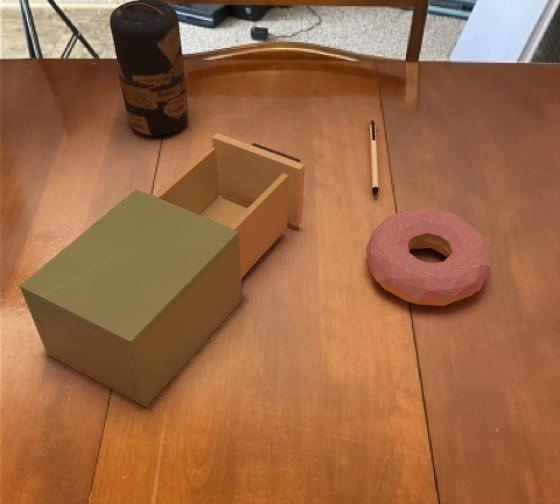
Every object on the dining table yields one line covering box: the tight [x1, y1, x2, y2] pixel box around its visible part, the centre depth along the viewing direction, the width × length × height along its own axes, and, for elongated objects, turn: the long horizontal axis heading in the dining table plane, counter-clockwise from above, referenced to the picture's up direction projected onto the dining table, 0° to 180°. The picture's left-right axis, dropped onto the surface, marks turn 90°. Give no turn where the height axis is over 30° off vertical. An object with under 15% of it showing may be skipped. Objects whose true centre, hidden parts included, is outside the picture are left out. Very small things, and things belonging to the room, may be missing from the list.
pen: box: [369, 119, 380, 198], centre depth 101 cm, size 1×19×1 cm, turn 177°
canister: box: [109, 0, 189, 136], centre depth 99 cm, size 10×10×18 cm
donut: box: [365, 208, 491, 307], centre depth 84 cm, size 16×15×5 cm
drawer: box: [153, 132, 306, 279], centre depth 86 cm, size 22×13×9 cm, turn 149°
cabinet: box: [19, 188, 243, 408], centre depth 76 cm, size 19×14×11 cm
